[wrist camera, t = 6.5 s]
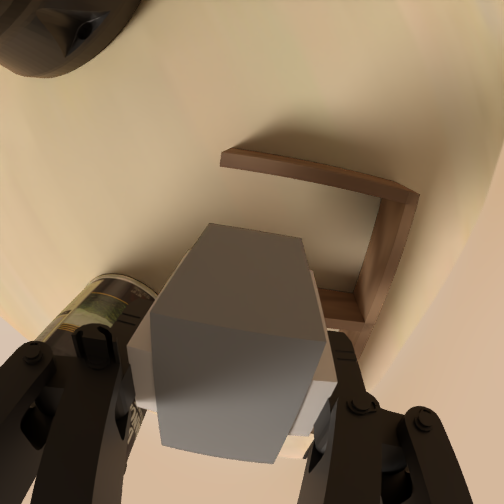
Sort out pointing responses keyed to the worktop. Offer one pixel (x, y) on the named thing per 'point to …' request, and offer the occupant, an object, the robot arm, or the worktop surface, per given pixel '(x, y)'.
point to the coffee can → (98, 311)
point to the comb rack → (380, 246)
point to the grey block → (235, 344)
